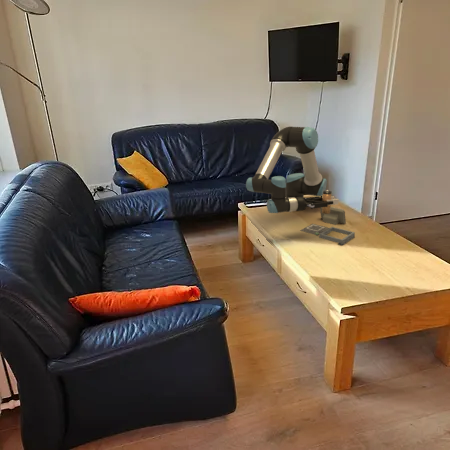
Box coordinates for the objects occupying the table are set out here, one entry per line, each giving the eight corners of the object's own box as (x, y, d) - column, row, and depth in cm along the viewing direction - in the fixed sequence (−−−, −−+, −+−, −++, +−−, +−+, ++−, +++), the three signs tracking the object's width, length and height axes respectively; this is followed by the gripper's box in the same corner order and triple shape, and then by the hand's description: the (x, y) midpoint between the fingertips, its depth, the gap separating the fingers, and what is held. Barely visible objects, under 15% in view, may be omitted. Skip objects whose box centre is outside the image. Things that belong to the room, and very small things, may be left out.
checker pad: (312, 225, 240) (312, 222, 239) (330, 229, 232) (330, 226, 232) (299, 232, 231) (299, 228, 230) (317, 237, 223) (318, 233, 222)
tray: (331, 231, 230) (332, 226, 229) (354, 237, 221) (354, 232, 220) (319, 239, 220) (319, 234, 219) (342, 245, 211) (342, 240, 210)
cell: (324, 210, 223) (326, 188, 218) (331, 212, 220) (333, 190, 215) (320, 212, 220) (321, 190, 215) (327, 214, 217) (328, 191, 212)
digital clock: (347, 224, 239) (348, 208, 235) (337, 228, 234) (339, 211, 230) (325, 218, 251) (326, 202, 247) (316, 221, 246) (317, 205, 242)
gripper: (290, 205, 224) (328, 202, 228) (301, 215, 208) (342, 211, 212) (290, 193, 221) (329, 189, 225) (301, 202, 205) (343, 198, 209)
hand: (335, 200), depth 218 cm, fingers closed on cell, 4 cm apart
